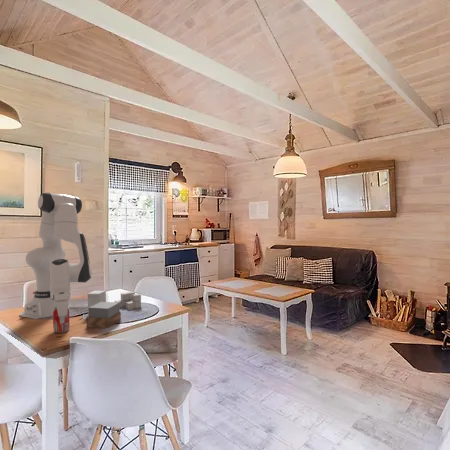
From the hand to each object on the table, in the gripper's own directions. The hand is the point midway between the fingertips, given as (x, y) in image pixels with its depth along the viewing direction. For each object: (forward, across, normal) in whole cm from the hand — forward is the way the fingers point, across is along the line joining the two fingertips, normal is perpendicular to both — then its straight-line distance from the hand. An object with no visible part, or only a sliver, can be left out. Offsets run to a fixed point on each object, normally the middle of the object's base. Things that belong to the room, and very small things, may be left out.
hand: (61, 320), depth 154 cm
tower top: (0, 0, +20) cm, 20 cm away
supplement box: (+5, -20, +20) cm, 28 cm away
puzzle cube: (+6, -23, +38) cm, 45 cm away
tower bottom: (+5, 0, +20) cm, 21 cm away
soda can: (+5, 0, 0) cm, 5 cm away
